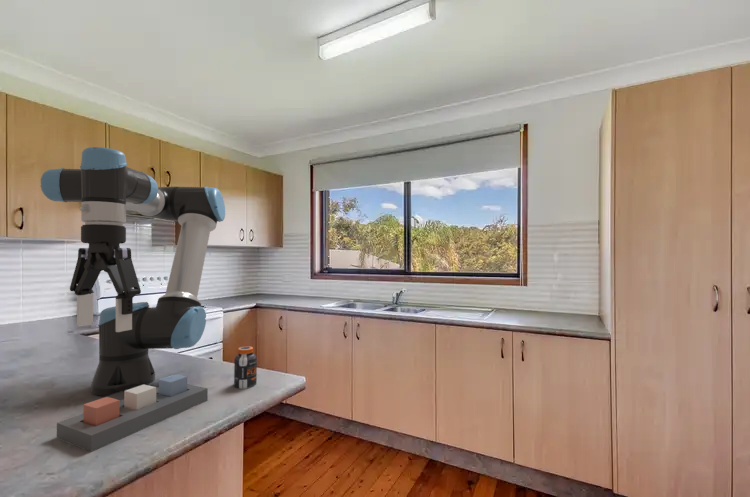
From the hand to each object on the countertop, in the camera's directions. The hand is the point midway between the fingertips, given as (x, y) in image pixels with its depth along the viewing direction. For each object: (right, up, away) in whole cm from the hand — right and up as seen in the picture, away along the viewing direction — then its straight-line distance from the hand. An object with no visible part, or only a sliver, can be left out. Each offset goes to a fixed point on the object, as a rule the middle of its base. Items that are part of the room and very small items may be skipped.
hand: (103, 328), depth 76 cm
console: (+3, -23, +7) cm, 24 cm away
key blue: (+6, -19, +14) cm, 25 cm away
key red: (0, -19, 0) cm, 19 cm away
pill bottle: (+20, -23, +27) cm, 41 cm away
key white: (+3, -19, +7) cm, 21 cm away
